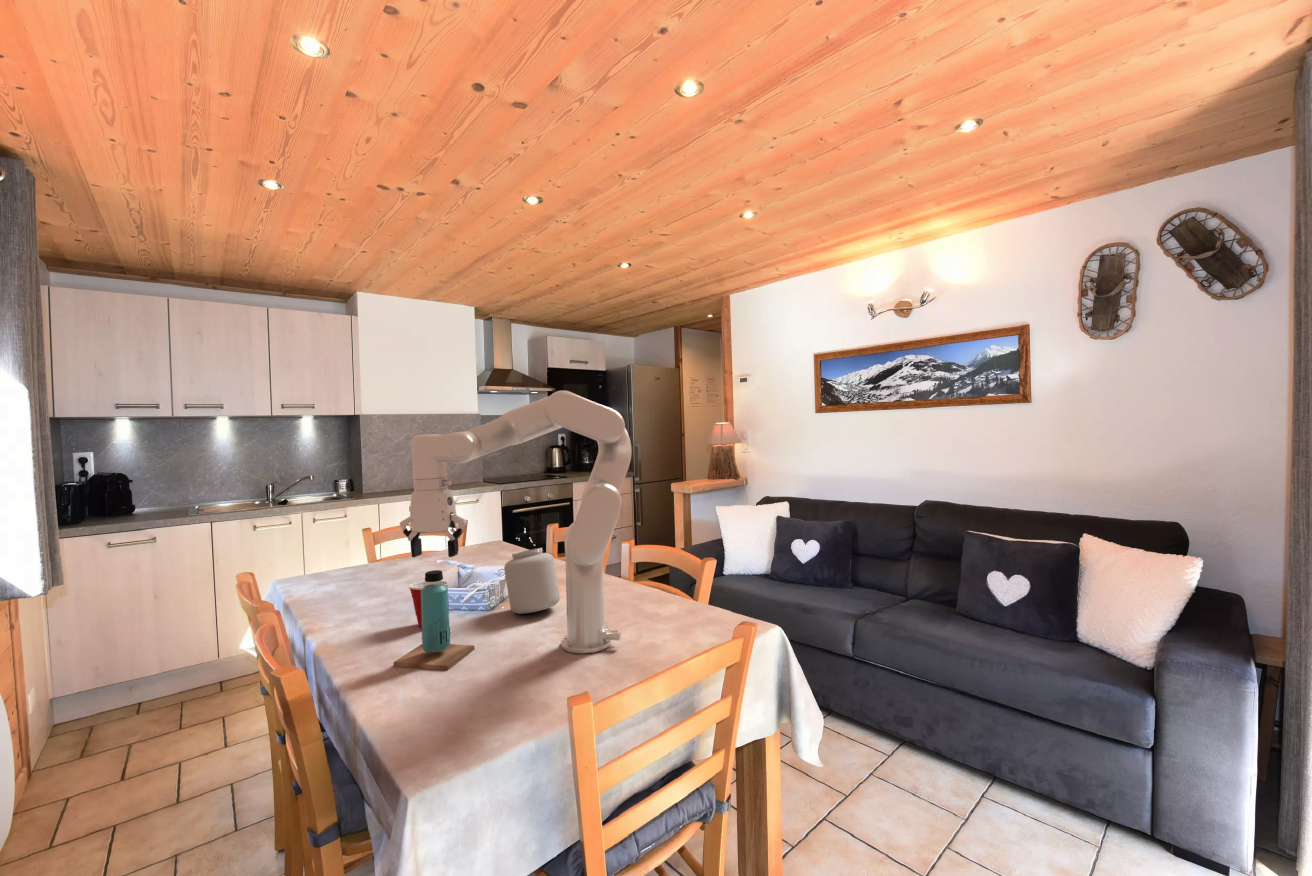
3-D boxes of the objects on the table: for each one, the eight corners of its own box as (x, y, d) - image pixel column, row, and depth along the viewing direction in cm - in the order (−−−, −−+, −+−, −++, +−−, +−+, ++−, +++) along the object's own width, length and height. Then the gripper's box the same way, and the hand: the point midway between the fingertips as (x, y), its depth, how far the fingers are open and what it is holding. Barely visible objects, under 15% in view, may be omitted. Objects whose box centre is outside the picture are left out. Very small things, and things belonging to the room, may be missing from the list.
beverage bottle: (440, 659, 131) (438, 575, 131) (415, 658, 133) (413, 574, 133) (456, 649, 138) (453, 568, 138) (432, 647, 139) (429, 567, 139)
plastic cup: (456, 618, 164) (455, 577, 163) (439, 631, 153) (437, 588, 153) (421, 617, 165) (420, 577, 164) (401, 631, 154) (400, 587, 154)
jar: (491, 612, 169) (488, 529, 168) (528, 599, 181) (527, 522, 180) (532, 624, 157) (530, 535, 157) (570, 609, 169) (568, 527, 169)
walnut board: (474, 649, 140) (474, 645, 140) (448, 670, 128) (447, 665, 128) (424, 646, 143) (423, 642, 143) (393, 666, 131) (393, 662, 131)
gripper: (471, 482, 137) (475, 552, 137) (408, 484, 140) (412, 552, 140) (455, 486, 129) (459, 559, 130) (388, 488, 132) (393, 559, 133)
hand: (435, 555), depth 135 cm, fingers open, 9 cm apart
